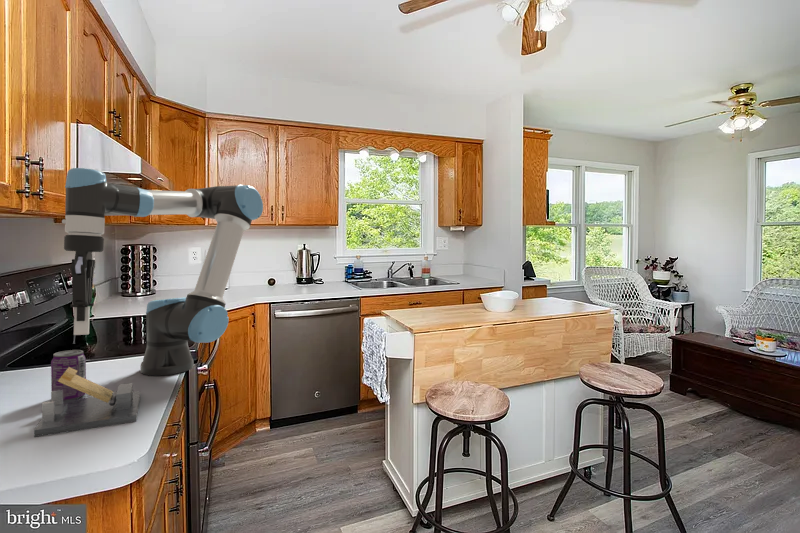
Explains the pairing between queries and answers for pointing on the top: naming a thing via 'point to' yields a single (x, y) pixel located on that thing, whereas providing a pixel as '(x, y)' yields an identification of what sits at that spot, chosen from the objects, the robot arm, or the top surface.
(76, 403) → the clamp base
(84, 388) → the tan flat panel
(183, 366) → the robot arm
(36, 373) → the top surface
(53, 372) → the beverage can
